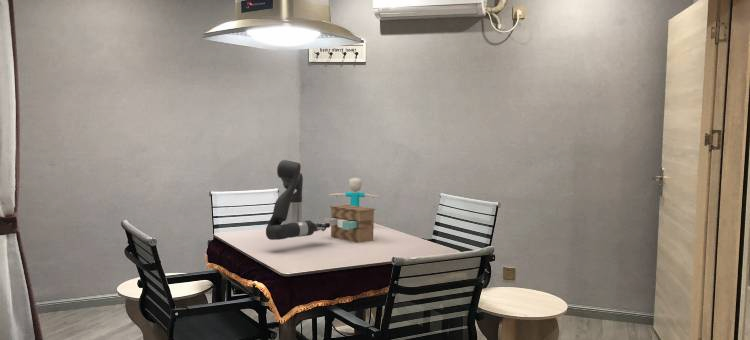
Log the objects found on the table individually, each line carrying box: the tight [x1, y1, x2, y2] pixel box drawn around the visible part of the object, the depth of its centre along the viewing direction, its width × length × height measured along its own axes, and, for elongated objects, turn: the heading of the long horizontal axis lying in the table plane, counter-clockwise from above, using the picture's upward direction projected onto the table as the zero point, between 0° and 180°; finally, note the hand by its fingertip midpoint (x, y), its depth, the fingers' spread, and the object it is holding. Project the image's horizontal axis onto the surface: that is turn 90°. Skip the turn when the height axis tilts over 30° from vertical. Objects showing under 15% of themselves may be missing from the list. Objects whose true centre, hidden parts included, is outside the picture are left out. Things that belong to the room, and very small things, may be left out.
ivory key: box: [338, 219, 348, 228], centre depth 348 cm, size 4×9×4 cm, turn 136°
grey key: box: [323, 217, 339, 227], centre depth 351 cm, size 4×9×4 cm, turn 136°
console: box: [329, 204, 376, 244], centre depth 351 cm, size 23×11×17 cm, turn 46°
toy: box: [328, 177, 382, 207], centre depth 385 cm, size 30×9×30 cm, turn 84°
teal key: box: [343, 221, 358, 230], centre depth 341 cm, size 4×9×4 cm, turn 136°
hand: (328, 225), depth 339 cm, fingers closed
